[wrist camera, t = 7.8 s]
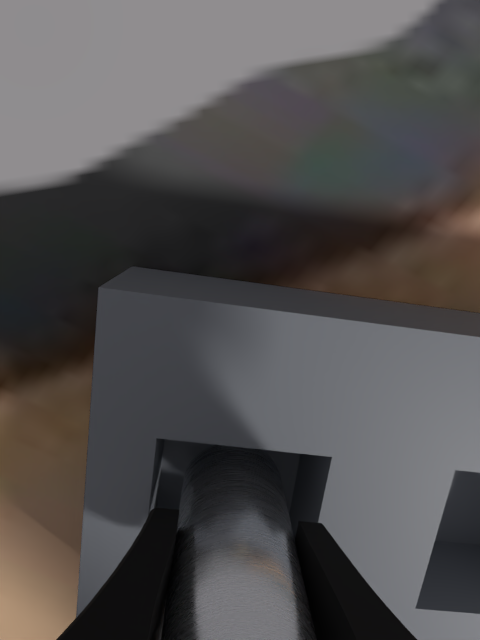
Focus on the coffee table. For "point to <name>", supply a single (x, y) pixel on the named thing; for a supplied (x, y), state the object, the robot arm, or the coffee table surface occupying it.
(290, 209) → the coffee table surface
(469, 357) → the hole board
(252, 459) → the pin
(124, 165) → the coffee table surface
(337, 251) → the coffee table surface
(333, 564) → the robot arm
